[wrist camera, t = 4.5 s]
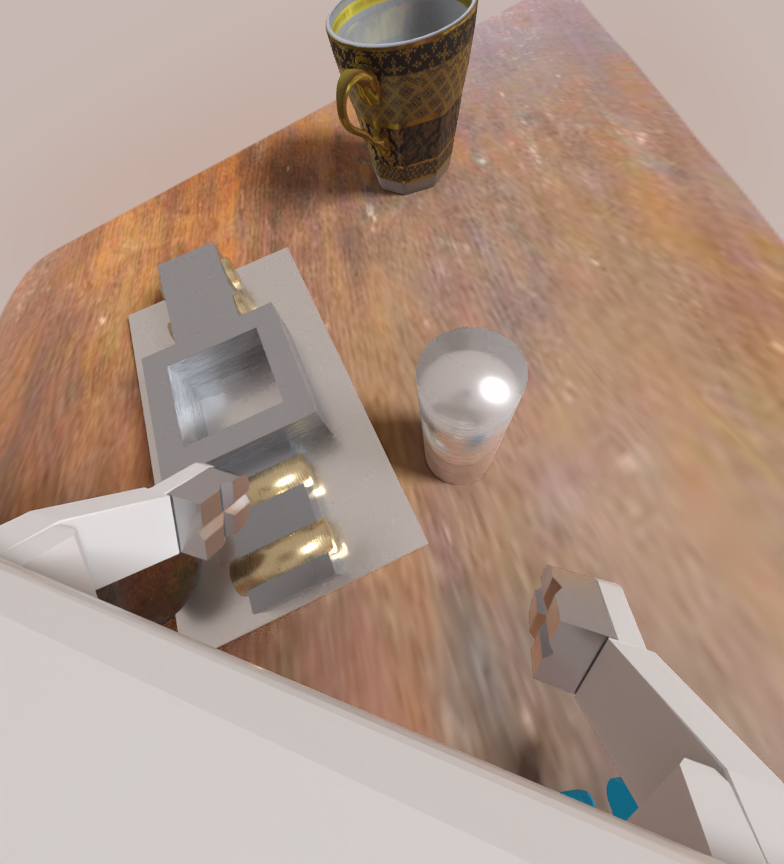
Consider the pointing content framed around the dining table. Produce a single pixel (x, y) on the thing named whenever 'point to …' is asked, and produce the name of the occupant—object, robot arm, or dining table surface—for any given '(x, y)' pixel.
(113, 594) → the bolt
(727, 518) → the dining table surface
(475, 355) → the silver upright cylinder
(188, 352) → the gray metal plate
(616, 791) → the gear
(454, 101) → the ceramic cup
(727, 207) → the dining table surface
